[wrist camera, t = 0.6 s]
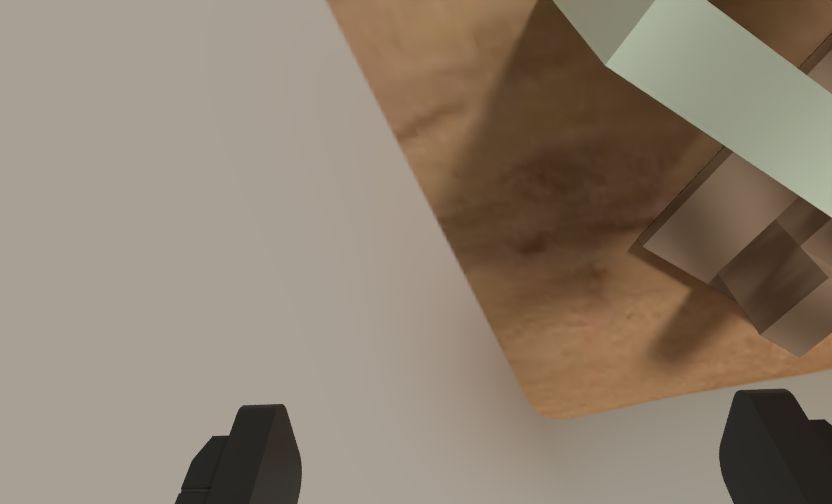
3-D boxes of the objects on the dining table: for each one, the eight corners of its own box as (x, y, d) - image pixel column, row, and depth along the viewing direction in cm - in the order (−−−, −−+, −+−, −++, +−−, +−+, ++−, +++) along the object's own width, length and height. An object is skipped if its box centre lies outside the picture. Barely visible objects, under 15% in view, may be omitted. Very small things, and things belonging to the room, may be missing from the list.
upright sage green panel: (584, -73, 30) (674, -25, 19) (760, 58, 33) (924, 163, 22) (543, -12, 31) (604, 65, 20) (716, 108, 35) (848, 228, 24)
